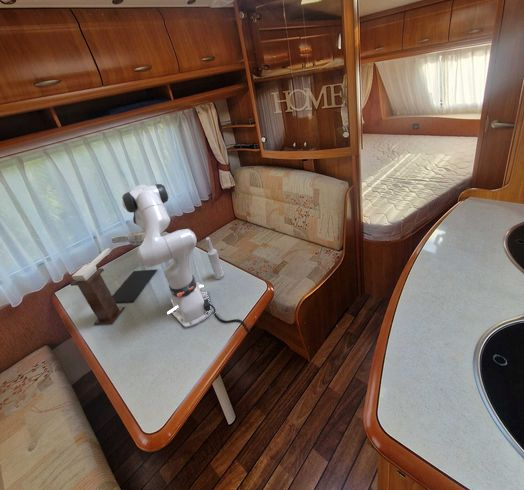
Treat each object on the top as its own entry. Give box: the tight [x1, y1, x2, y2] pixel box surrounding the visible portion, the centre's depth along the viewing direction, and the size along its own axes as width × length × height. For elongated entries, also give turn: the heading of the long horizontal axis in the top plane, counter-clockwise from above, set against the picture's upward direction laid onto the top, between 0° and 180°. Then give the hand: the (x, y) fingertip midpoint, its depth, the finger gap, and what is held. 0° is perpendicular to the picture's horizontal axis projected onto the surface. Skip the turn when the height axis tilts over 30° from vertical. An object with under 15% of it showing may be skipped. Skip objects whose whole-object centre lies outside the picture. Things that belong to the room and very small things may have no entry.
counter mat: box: [112, 269, 157, 304], centre depth 156 cm, size 26×16×1 cm, turn 172°
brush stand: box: [69, 267, 125, 325], centre depth 132 cm, size 10×10×26 cm
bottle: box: [205, 236, 225, 281], centre depth 144 cm, size 5×5×25 cm
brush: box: [71, 247, 112, 281], centre depth 132 cm, size 22×6×3 cm, turn 172°
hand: (119, 239), depth 150 cm, fingers open, 8 cm apart
